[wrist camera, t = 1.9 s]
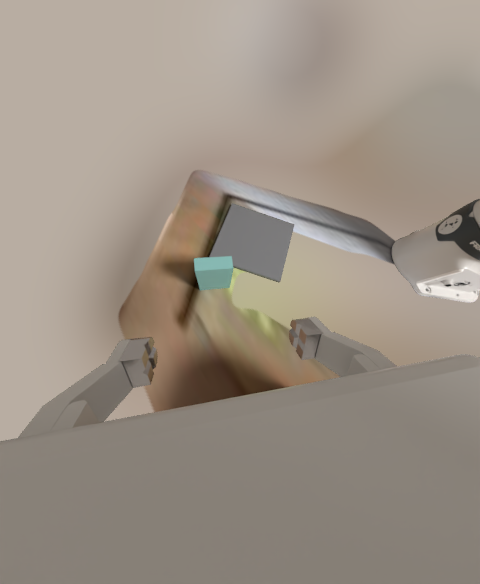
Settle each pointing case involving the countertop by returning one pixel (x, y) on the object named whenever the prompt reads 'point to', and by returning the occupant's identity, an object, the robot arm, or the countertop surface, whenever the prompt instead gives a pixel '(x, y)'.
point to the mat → (254, 242)
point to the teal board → (213, 272)
